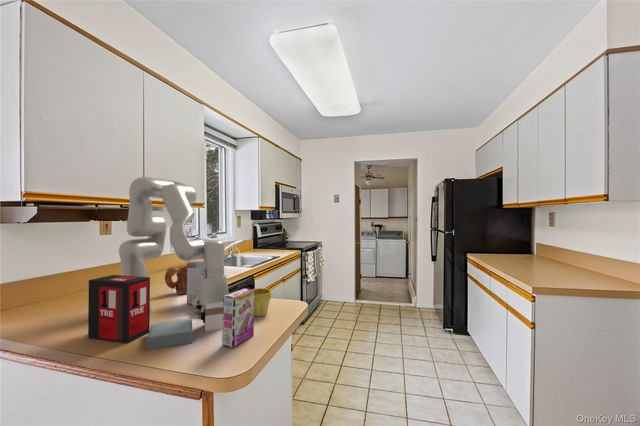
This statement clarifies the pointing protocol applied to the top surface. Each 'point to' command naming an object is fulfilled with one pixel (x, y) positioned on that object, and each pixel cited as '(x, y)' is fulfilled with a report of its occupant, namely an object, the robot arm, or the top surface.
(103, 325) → the cleaning product box
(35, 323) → the top surface
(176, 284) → the mug
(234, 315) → the candy bar box
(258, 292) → the plant pot
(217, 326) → the cream carton
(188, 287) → the cracker box
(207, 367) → the top surface
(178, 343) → the display podium
